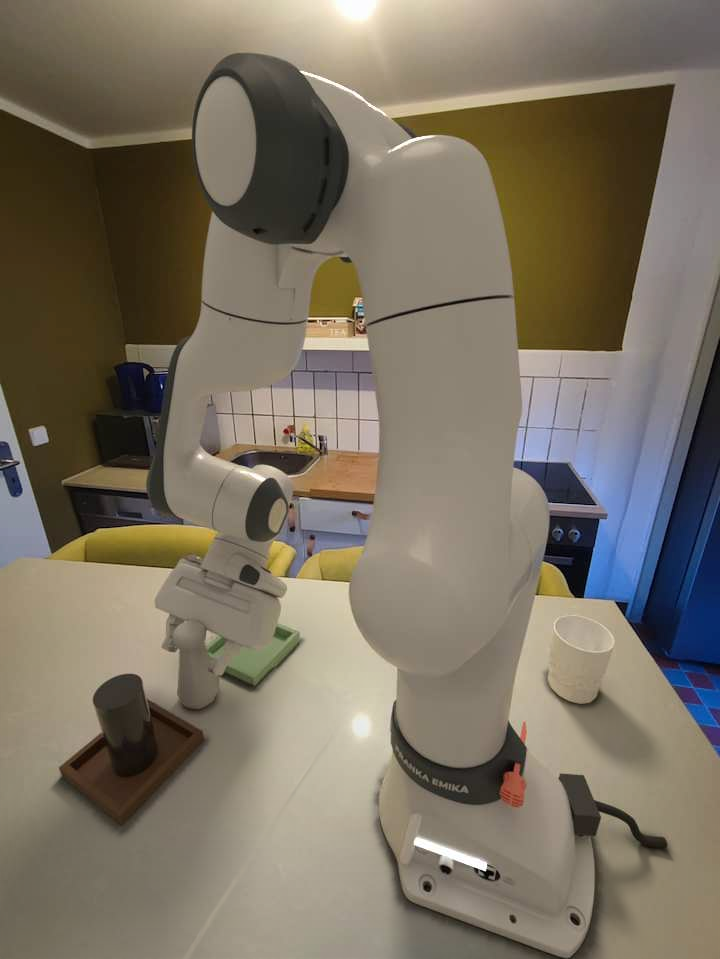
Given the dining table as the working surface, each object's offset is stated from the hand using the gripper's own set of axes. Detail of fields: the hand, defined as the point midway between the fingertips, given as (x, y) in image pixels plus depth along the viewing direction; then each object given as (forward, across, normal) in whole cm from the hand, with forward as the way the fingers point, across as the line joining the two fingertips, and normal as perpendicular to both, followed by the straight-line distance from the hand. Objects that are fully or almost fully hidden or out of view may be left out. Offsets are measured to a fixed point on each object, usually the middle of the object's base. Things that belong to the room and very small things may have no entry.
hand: (190, 661), depth 60 cm
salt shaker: (+5, 0, +6) cm, 8 cm away
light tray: (-3, 0, +14) cm, 14 cm away
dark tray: (+12, 0, -2) cm, 13 cm away
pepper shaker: (+12, 0, -2) cm, 12 cm away
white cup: (-15, +48, +26) cm, 56 cm away
